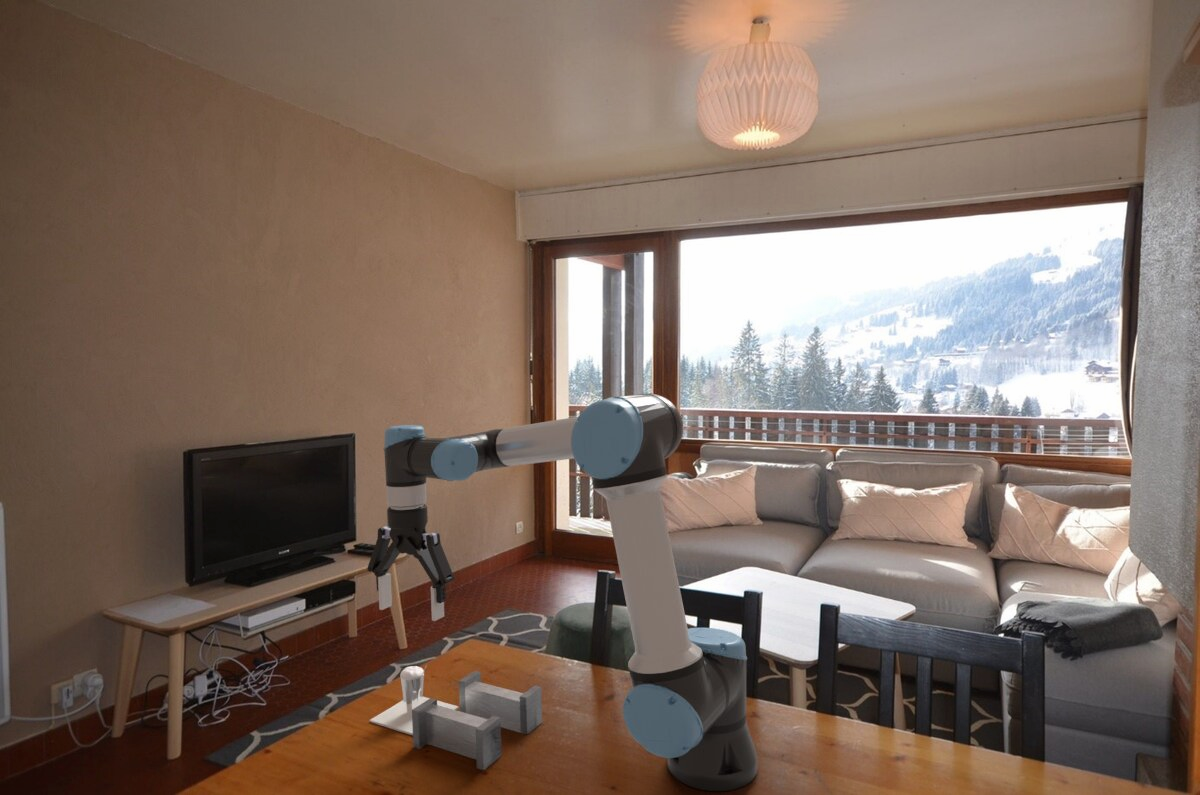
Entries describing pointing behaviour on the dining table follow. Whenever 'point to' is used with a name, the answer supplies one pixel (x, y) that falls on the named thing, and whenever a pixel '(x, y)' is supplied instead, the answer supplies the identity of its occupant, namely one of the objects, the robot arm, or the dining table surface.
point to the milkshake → (412, 688)
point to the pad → (401, 717)
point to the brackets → (476, 719)
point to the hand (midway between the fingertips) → (411, 613)
